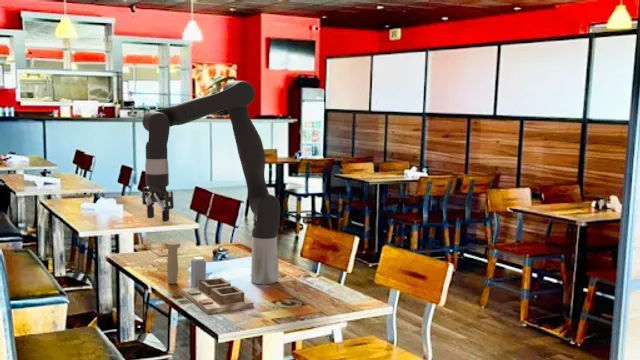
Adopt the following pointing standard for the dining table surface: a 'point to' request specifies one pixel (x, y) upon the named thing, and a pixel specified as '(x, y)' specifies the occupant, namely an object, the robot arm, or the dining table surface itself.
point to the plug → (197, 270)
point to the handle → (172, 261)
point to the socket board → (217, 296)
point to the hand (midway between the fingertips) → (158, 219)
